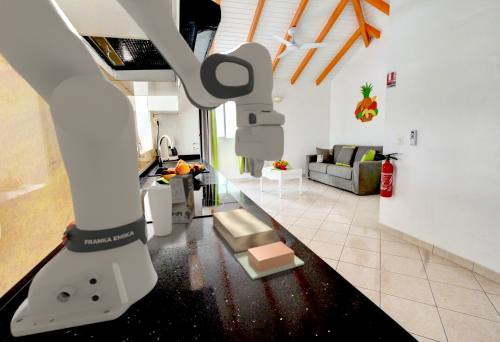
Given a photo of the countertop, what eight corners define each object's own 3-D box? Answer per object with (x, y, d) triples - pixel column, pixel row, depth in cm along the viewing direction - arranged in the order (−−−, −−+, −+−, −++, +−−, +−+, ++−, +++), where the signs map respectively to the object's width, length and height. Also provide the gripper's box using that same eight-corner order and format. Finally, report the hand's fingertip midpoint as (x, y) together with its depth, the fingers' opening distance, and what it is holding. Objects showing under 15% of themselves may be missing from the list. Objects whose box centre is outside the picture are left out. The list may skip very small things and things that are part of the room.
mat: (252, 279, 49) (252, 277, 49) (234, 255, 59) (234, 254, 59) (304, 264, 54) (304, 262, 54) (279, 244, 64) (279, 243, 64)
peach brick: (247, 249, 56) (247, 259, 56) (258, 261, 50) (259, 271, 51) (280, 241, 59) (280, 250, 60) (294, 251, 54) (294, 261, 54)
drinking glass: (148, 233, 74) (144, 186, 72) (169, 227, 79) (166, 183, 77) (156, 240, 69) (151, 190, 67) (178, 233, 74) (174, 186, 71)
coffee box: (189, 223, 83) (186, 177, 80) (171, 223, 83) (167, 178, 80) (195, 214, 92) (193, 173, 89) (179, 215, 92) (176, 174, 89)
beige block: (235, 252, 60) (235, 237, 60) (213, 224, 80) (212, 213, 80) (273, 243, 65) (273, 229, 64) (243, 219, 85) (242, 208, 84)
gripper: (228, 122, 64) (230, 172, 66) (261, 114, 46) (262, 185, 47) (249, 122, 67) (250, 170, 69) (289, 115, 48) (289, 182, 50)
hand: (256, 176), depth 58 cm, fingers closed
